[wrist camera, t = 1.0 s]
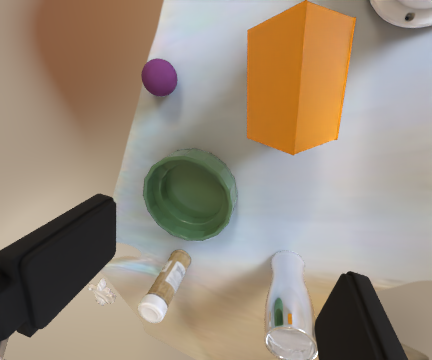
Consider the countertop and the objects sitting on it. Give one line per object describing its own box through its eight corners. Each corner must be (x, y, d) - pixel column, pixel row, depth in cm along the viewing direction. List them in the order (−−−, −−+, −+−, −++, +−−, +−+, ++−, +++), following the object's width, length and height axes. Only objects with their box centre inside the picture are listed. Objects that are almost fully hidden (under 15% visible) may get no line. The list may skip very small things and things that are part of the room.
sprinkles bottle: (169, 248, 49) (133, 302, 37) (189, 249, 47) (158, 305, 35) (174, 265, 50) (140, 322, 38) (193, 267, 49) (165, 326, 37)
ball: (154, 57, 35) (135, 53, 30) (184, 64, 34) (170, 61, 30) (151, 91, 37) (133, 92, 32) (179, 99, 36) (165, 101, 32)
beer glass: (265, 273, 45) (259, 354, 31) (271, 244, 42) (266, 319, 28) (303, 282, 43) (313, 370, 30) (311, 253, 40) (326, 336, 27)
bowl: (162, 137, 39) (147, 144, 35) (247, 162, 37) (243, 173, 33) (153, 210, 46) (140, 223, 41) (225, 235, 44) (219, 252, 39)
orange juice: (323, 46, 29) (392, -16, 11) (315, 118, 32) (358, 159, 14) (260, 52, 31) (233, 7, 13) (259, 119, 34) (235, 156, 16)
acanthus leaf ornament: (103, 276, 58) (98, 282, 57) (120, 295, 59) (116, 302, 58) (87, 285, 61) (81, 291, 60) (104, 303, 62) (99, 309, 61)
